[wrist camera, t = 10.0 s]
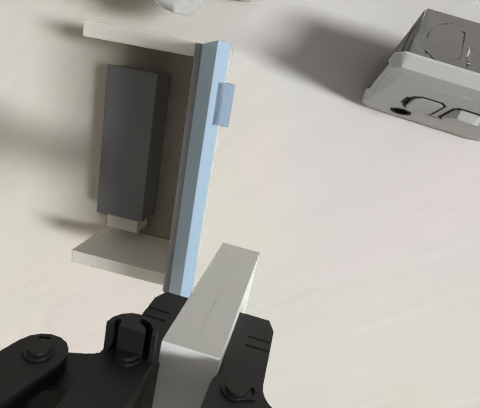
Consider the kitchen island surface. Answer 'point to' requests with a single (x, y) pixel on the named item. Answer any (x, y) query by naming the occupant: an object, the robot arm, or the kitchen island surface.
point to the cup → (182, 5)
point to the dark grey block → (132, 145)
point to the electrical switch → (433, 76)
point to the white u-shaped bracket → (121, 241)
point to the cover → (197, 161)
